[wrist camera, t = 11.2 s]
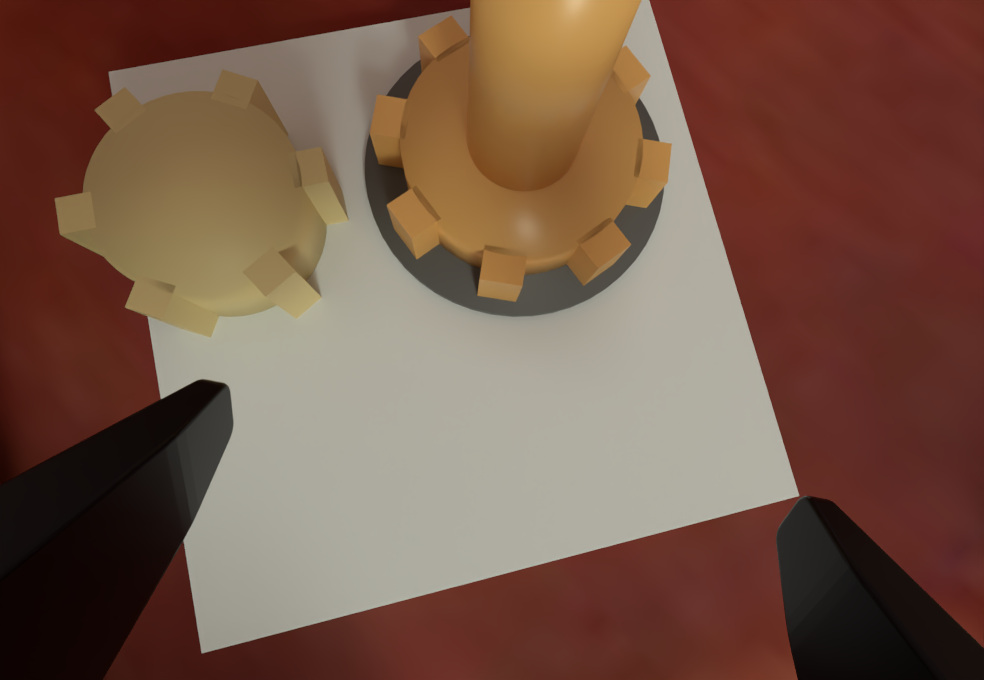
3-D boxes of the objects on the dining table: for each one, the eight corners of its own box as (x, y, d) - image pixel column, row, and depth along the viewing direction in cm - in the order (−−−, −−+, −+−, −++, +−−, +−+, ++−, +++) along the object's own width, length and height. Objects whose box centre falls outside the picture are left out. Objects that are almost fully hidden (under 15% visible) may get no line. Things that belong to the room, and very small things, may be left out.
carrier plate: (207, 639, 18) (126, 705, 14) (119, 100, 21) (27, 9, 16) (773, 491, 20) (864, 507, 15) (629, 7, 22) (672, -99, 18)
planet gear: (487, 355, 18) (522, 263, 8) (326, 137, 19) (184, -181, 9) (702, 199, 19) (953, -43, 10) (541, -1, 20) (620, -414, 10)
